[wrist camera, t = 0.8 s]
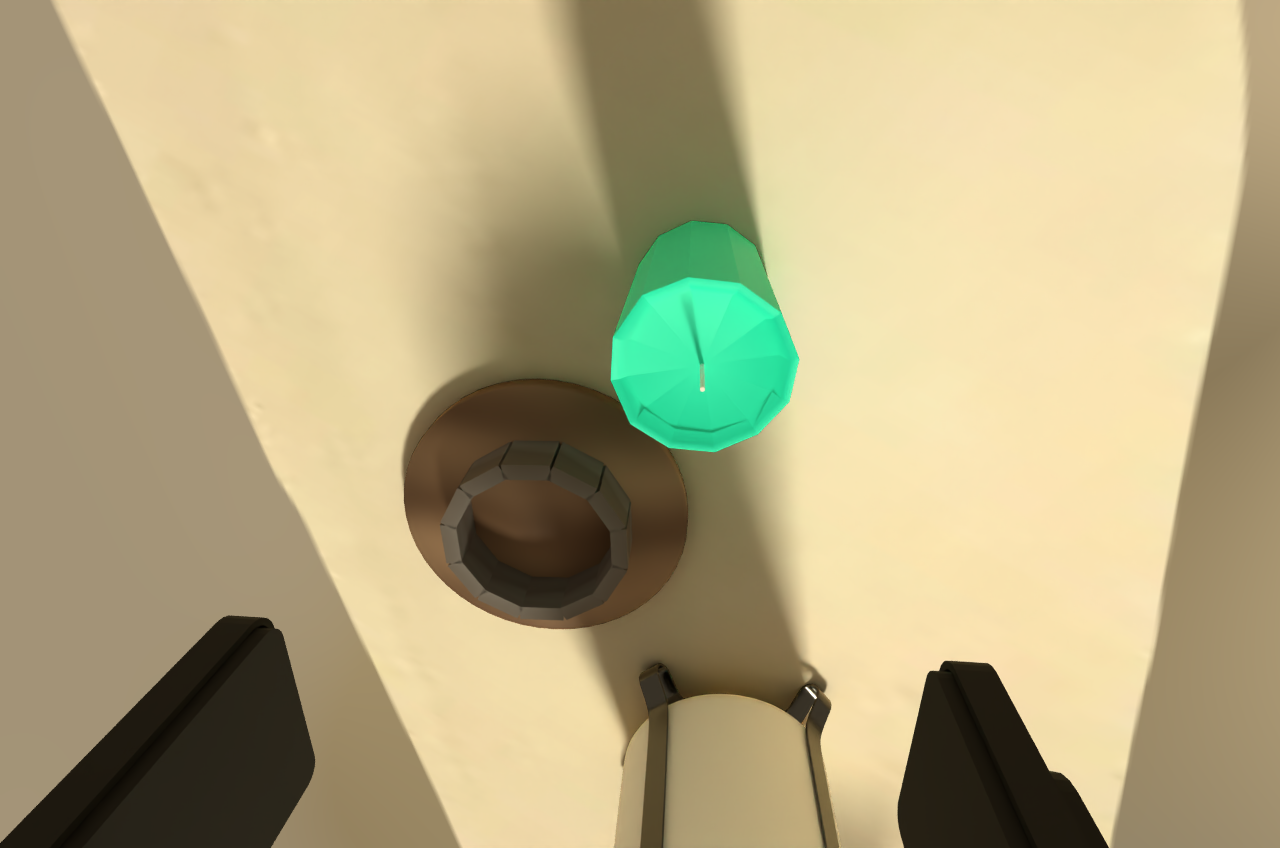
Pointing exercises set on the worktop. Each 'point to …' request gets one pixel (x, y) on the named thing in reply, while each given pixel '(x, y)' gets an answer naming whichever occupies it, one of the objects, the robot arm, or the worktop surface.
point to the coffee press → (725, 772)
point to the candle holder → (546, 505)
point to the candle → (702, 341)
